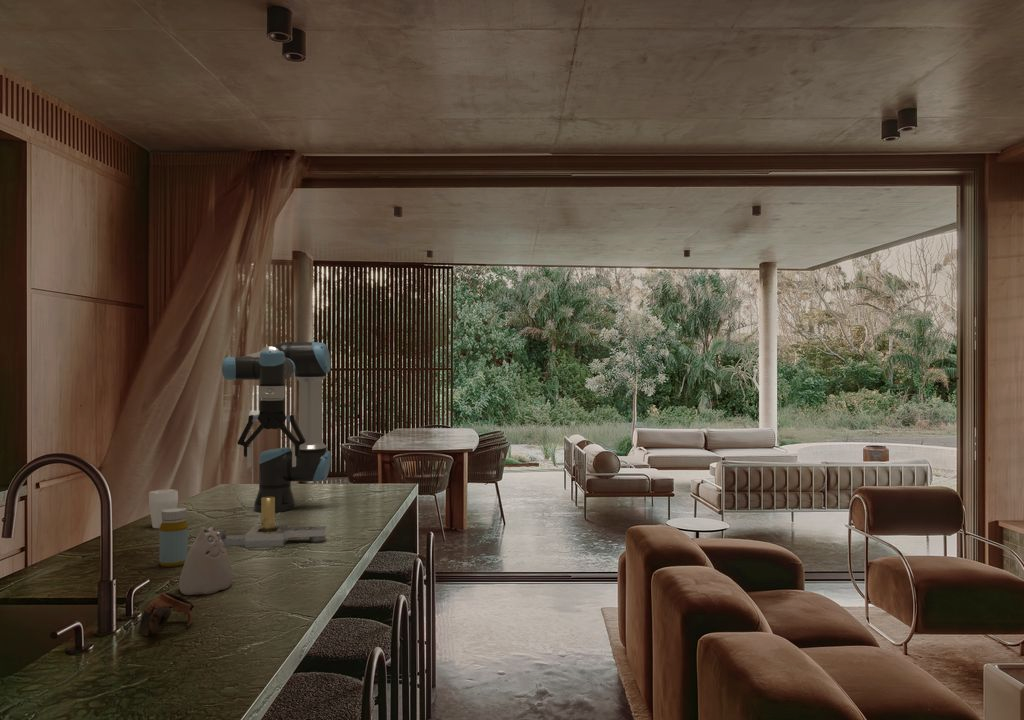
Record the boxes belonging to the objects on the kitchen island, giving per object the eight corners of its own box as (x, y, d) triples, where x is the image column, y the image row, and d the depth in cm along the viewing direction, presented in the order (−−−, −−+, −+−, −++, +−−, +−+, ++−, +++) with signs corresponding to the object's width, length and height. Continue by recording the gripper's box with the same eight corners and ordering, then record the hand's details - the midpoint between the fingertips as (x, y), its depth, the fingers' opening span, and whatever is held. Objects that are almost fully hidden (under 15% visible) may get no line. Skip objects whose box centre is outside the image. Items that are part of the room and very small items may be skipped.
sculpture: (227, 594, 165) (227, 531, 165) (173, 598, 162) (174, 534, 162) (236, 578, 177) (236, 520, 177) (186, 581, 175) (187, 522, 175)
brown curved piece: (140, 626, 145) (161, 588, 148) (182, 643, 147) (203, 606, 149) (125, 631, 134) (148, 590, 137) (170, 650, 135) (193, 609, 138)
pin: (262, 541, 216) (262, 496, 216) (275, 540, 216) (276, 496, 216) (259, 544, 212) (260, 498, 212) (273, 544, 212) (273, 498, 212)
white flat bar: (213, 540, 217) (213, 527, 217) (327, 536, 222) (327, 524, 222) (203, 549, 206) (203, 535, 206) (323, 545, 211) (323, 531, 211)
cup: (183, 523, 240) (183, 489, 240) (167, 529, 231) (168, 494, 231) (159, 523, 241) (159, 489, 241) (142, 529, 232) (143, 493, 232)
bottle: (193, 561, 192) (193, 508, 193) (173, 568, 186) (173, 513, 186) (173, 559, 195) (174, 506, 195) (153, 566, 188) (154, 511, 188)
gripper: (227, 400, 211) (227, 469, 211) (311, 400, 215) (310, 467, 215) (233, 399, 219) (233, 465, 219) (314, 398, 222) (314, 464, 222)
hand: (271, 466), depth 217 cm, fingers open, 13 cm apart
